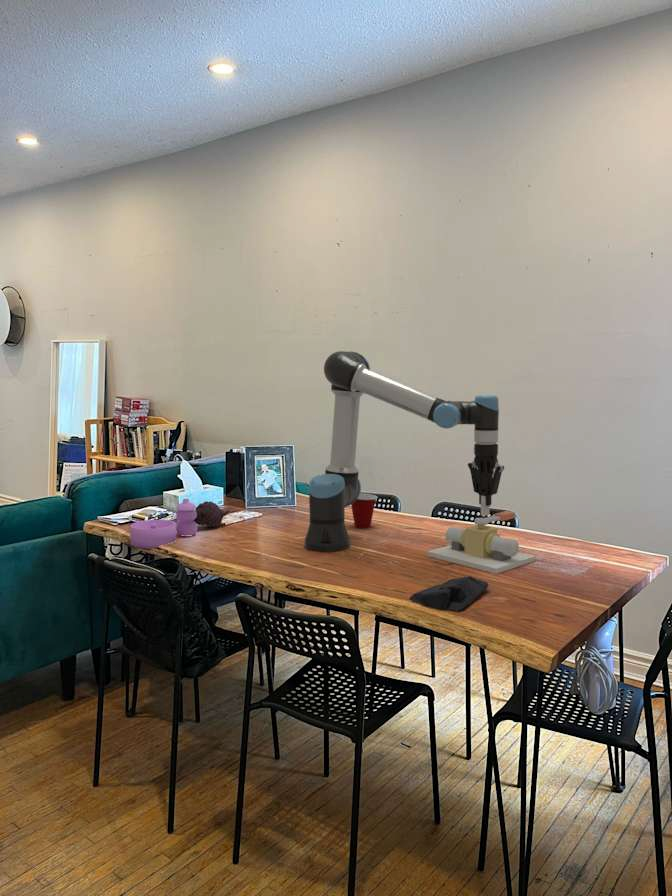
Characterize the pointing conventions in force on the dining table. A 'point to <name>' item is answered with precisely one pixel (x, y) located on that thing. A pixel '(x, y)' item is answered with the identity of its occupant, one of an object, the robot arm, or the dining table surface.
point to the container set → (164, 528)
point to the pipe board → (482, 562)
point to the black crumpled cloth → (451, 594)
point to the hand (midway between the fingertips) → (485, 514)
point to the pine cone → (209, 514)
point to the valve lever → (495, 518)
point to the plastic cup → (363, 510)
